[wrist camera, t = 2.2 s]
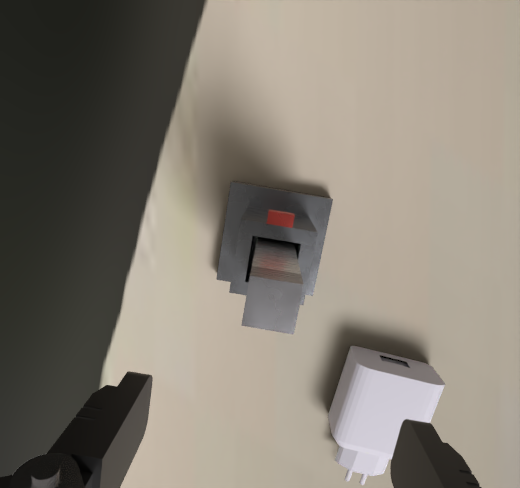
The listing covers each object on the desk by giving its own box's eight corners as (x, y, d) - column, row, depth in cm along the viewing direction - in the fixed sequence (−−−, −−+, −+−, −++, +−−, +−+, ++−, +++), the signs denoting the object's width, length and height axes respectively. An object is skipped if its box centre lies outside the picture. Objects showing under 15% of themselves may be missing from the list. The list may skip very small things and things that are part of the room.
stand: (232, 181, 39) (218, 188, 30) (330, 197, 39) (349, 211, 30) (218, 275, 42) (201, 311, 32) (311, 290, 42) (322, 332, 32)
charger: (312, 456, 46) (349, 342, 43) (387, 474, 46) (429, 362, 43) (316, 489, 42) (357, 365, 38) (400, 509, 42) (448, 387, 38)
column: (260, 223, 38) (249, 274, 22) (291, 228, 38) (304, 283, 22) (254, 254, 39) (240, 326, 22) (285, 259, 39) (294, 335, 22)
